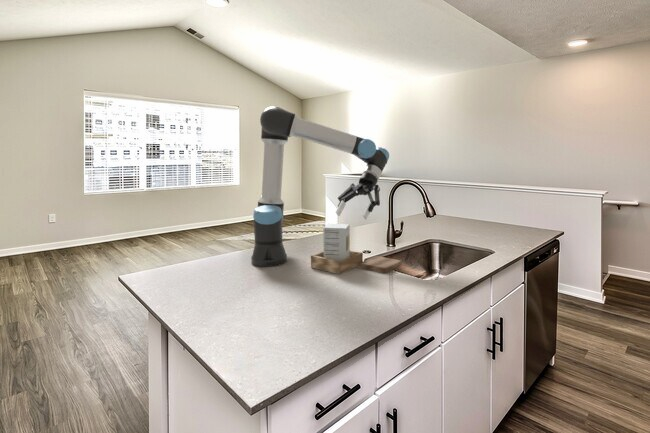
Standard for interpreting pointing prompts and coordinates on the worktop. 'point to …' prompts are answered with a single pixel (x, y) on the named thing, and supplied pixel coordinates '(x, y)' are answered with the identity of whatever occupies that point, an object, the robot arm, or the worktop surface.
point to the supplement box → (336, 241)
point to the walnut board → (380, 264)
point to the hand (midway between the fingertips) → (350, 215)
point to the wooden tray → (336, 262)
